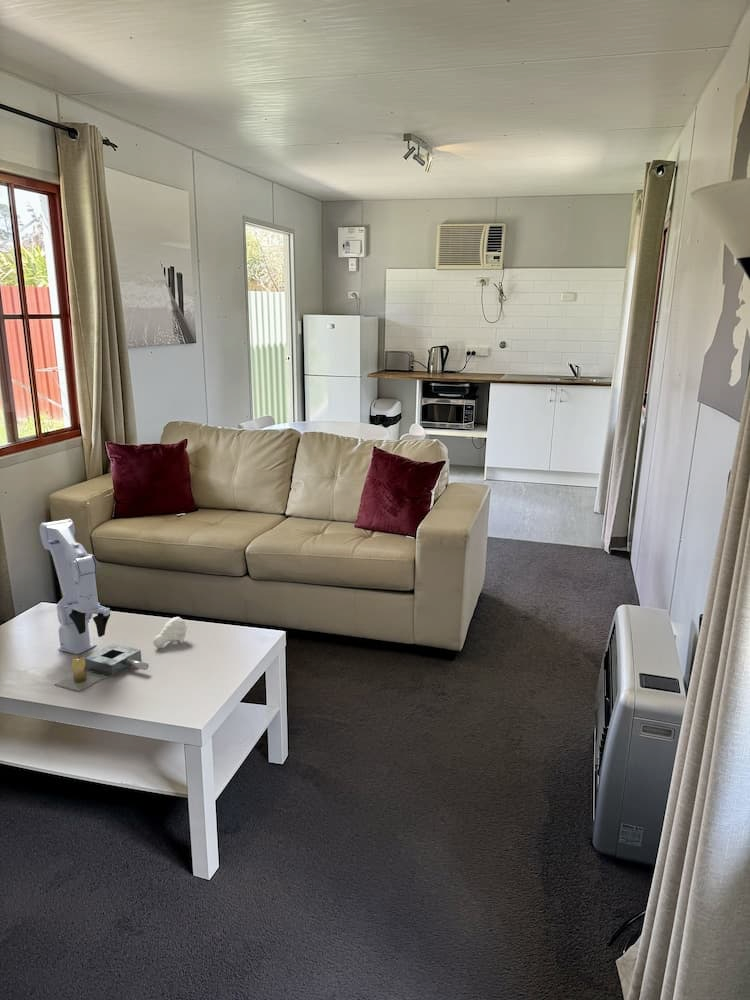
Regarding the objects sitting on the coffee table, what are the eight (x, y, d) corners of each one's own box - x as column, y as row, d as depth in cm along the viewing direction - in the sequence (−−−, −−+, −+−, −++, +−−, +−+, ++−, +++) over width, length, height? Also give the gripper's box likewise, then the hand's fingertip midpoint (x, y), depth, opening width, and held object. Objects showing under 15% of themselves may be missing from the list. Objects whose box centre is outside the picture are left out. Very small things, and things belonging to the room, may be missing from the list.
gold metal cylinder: (79, 684, 208) (77, 662, 207) (71, 681, 210) (69, 659, 208) (89, 679, 211) (87, 657, 210) (81, 676, 213) (79, 655, 211)
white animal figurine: (187, 617, 237) (157, 631, 228) (190, 639, 239) (161, 654, 230) (175, 613, 240) (145, 627, 232) (179, 635, 243) (150, 650, 234)
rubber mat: (55, 685, 209) (55, 684, 208) (82, 671, 217) (82, 670, 217) (79, 692, 204) (79, 690, 204) (105, 677, 213) (105, 676, 213)
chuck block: (84, 670, 218) (83, 658, 217) (114, 654, 229) (113, 643, 228) (132, 682, 210) (131, 670, 209) (160, 666, 220) (159, 654, 219)
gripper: (114, 591, 219) (119, 632, 222) (78, 587, 224) (82, 626, 227) (99, 599, 213) (103, 640, 216) (61, 594, 217) (66, 635, 220)
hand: (91, 634), depth 221 cm, fingers open, 7 cm apart
